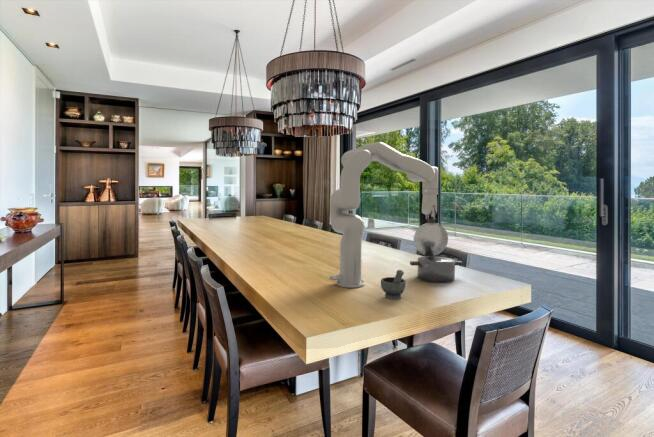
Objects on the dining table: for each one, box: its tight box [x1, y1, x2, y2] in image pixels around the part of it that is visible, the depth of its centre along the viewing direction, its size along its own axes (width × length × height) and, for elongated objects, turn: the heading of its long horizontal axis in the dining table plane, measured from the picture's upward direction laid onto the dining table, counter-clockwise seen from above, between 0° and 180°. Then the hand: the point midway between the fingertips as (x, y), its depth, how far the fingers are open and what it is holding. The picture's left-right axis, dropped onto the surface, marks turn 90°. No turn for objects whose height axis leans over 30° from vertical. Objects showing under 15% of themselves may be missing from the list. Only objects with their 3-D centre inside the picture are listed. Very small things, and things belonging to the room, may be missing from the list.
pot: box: [409, 255, 464, 284], centre depth 171 cm, size 25×18×9 cm
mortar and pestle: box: [380, 269, 407, 301], centre depth 140 cm, size 11×9×12 cm
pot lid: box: [413, 217, 449, 257], centre depth 178 cm, size 17×19×3 cm
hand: (429, 228), depth 180 cm, fingers closed
